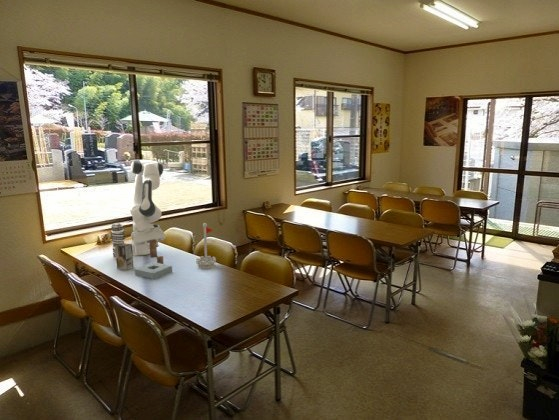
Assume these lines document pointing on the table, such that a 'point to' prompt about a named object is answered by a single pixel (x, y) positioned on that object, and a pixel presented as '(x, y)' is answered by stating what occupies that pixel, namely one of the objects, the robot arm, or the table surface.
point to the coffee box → (124, 256)
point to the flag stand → (207, 261)
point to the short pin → (160, 259)
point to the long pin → (153, 248)
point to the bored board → (153, 270)
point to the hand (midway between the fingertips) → (153, 247)
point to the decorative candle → (117, 236)
